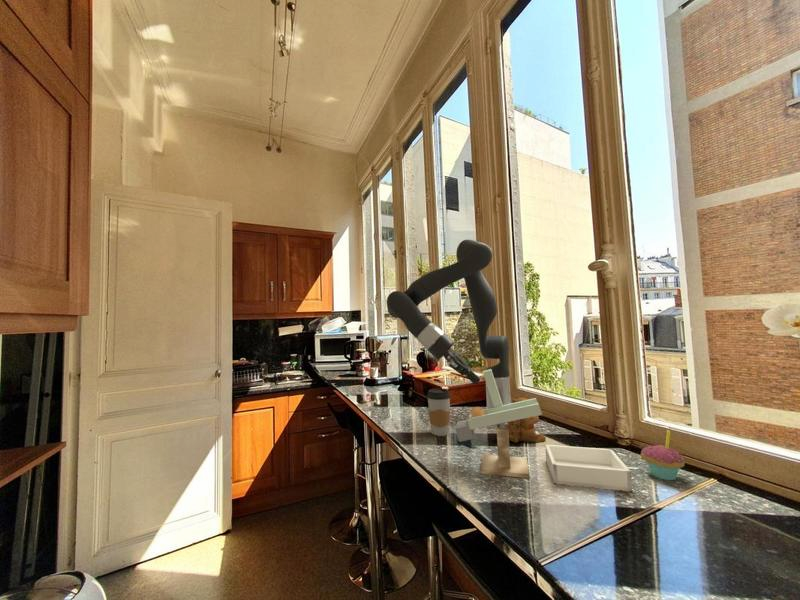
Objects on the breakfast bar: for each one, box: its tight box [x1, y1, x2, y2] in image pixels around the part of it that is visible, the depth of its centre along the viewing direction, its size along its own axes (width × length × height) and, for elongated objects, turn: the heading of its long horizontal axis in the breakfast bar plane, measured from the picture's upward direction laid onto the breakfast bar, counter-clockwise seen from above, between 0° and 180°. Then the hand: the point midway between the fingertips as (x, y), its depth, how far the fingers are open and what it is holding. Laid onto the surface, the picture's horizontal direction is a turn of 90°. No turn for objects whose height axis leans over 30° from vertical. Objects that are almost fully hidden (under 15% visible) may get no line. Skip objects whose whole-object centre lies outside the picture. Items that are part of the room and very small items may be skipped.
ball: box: [470, 406, 484, 417], centre depth 91 cm, size 4×4×4 cm
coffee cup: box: [426, 387, 451, 437], centre depth 117 cm, size 8×8×15 cm
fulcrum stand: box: [480, 423, 531, 479], centre depth 89 cm, size 12×10×11 cm
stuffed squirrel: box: [505, 397, 547, 444], centre depth 109 cm, size 10×14×13 cm
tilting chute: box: [454, 369, 543, 443], centre depth 91 cm, size 23×10×16 cm, turn 73°
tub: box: [544, 444, 633, 492], centre depth 83 cm, size 16×13×4 cm
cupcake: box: [640, 427, 685, 481], centre depth 81 cm, size 9×8×12 cm
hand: (477, 382), depth 96 cm, fingers closed
